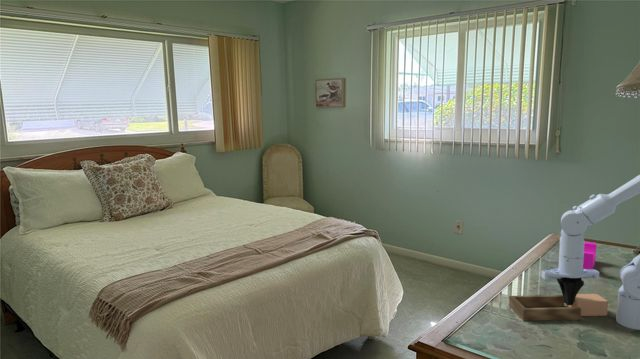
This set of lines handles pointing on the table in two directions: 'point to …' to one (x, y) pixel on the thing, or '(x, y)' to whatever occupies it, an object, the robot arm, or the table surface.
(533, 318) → the walnut cubby
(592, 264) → the toy block
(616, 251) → the table surface
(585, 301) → the terracotta brick
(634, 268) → the robot arm
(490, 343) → the table surface
